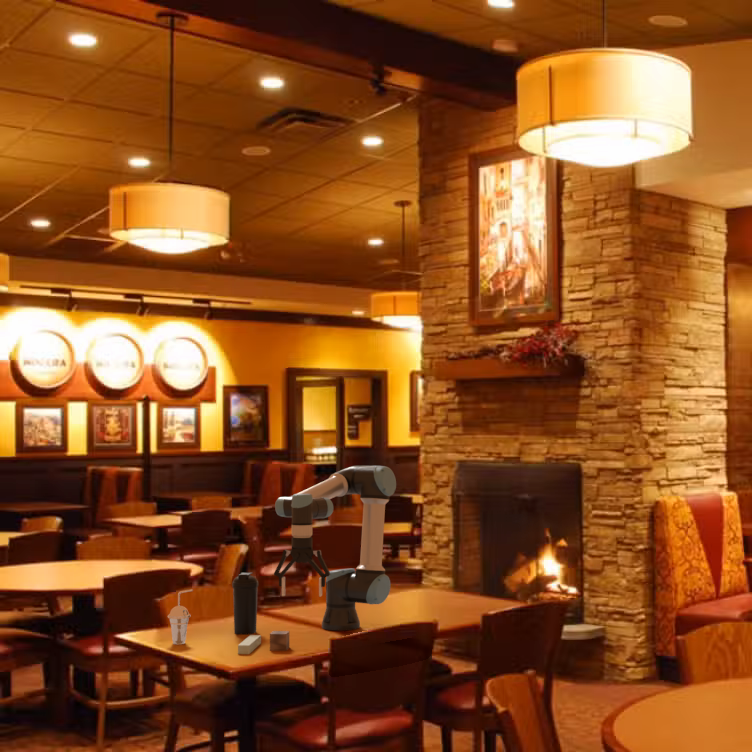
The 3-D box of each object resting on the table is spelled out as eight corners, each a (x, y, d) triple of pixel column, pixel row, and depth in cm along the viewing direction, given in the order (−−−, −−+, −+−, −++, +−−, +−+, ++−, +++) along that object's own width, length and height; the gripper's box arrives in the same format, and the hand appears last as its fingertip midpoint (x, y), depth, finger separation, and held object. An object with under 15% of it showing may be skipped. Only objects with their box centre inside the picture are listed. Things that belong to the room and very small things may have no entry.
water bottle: (260, 630, 441) (260, 571, 442) (255, 635, 431) (255, 574, 432) (235, 630, 442) (235, 571, 443) (229, 634, 432) (229, 574, 433)
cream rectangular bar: (260, 643, 414) (260, 635, 414) (249, 654, 394) (249, 645, 394) (250, 643, 414) (250, 635, 414) (238, 653, 394) (238, 645, 395)
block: (289, 647, 406) (289, 631, 406) (286, 651, 400) (286, 634, 400) (273, 647, 406) (273, 630, 407) (269, 650, 400) (269, 633, 401)
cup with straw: (176, 640, 421) (177, 586, 422) (196, 642, 417) (196, 588, 418) (162, 644, 413) (162, 589, 414) (182, 646, 409) (182, 591, 410)
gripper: (337, 535, 407) (337, 594, 406) (270, 535, 410) (270, 593, 409) (334, 537, 399) (334, 597, 398) (266, 537, 402) (265, 596, 401)
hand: (302, 595), depth 403 cm, fingers open, 13 cm apart
